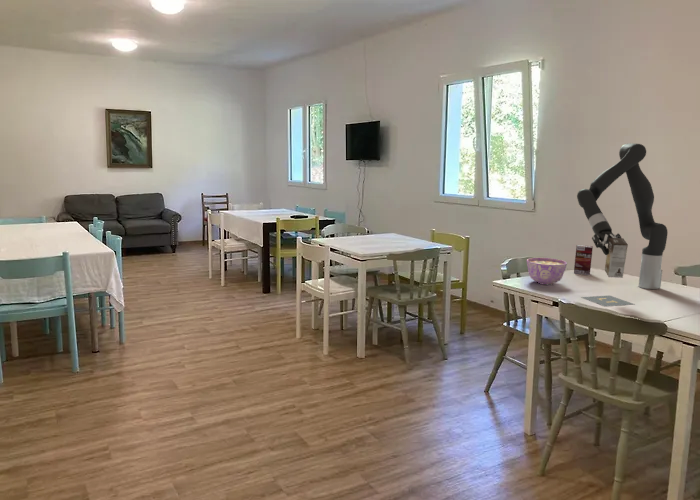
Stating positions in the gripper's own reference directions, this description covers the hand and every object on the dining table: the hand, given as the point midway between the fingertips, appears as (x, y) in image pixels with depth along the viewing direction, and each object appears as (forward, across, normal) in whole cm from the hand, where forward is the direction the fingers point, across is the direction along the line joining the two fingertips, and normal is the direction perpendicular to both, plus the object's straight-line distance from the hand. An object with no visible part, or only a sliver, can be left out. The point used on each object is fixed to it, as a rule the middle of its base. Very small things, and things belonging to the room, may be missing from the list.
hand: (615, 253), depth 254 cm
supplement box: (-22, +26, +54) cm, 64 cm away
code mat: (+16, -2, +15) cm, 22 cm away
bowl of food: (-11, -9, +42) cm, 45 cm away
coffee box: (+7, 0, +6) cm, 10 cm away
